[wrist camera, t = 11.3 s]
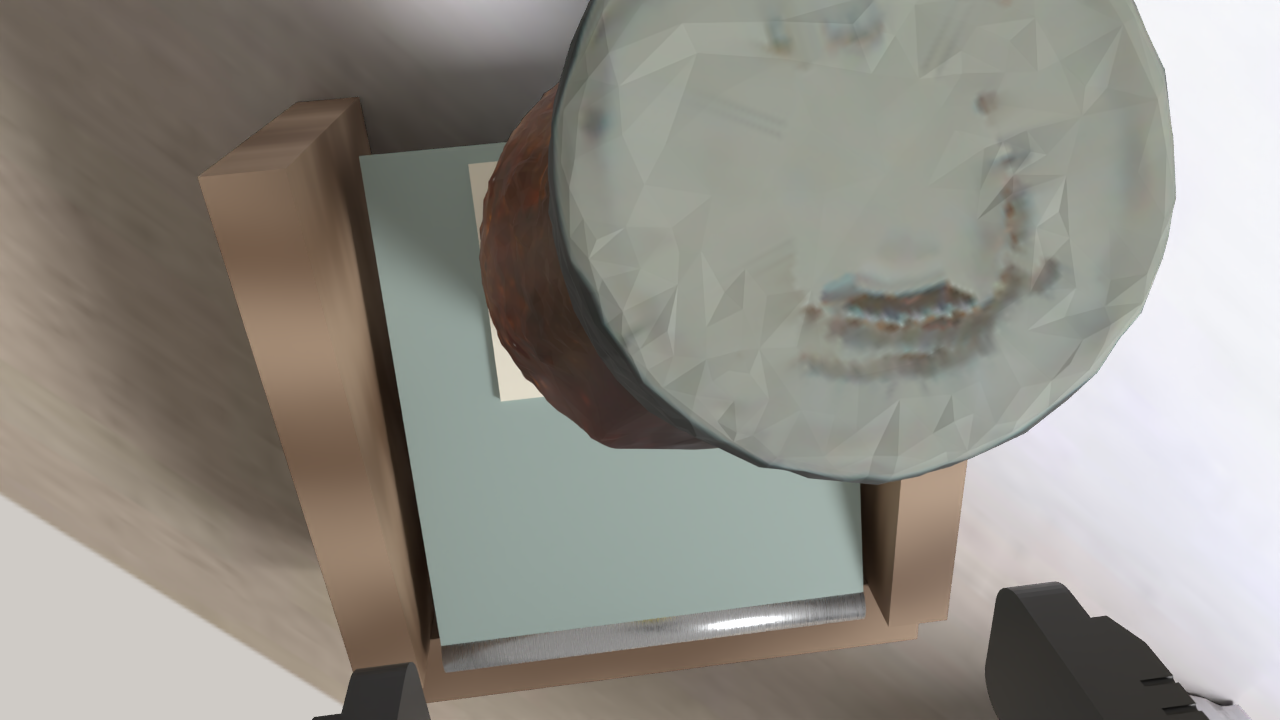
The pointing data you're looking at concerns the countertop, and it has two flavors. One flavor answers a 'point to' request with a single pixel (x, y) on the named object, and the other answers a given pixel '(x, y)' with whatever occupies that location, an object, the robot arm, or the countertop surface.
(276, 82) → the countertop surface
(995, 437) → the sauce bottle
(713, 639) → the frame
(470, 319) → the trapdoor
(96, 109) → the countertop surface
